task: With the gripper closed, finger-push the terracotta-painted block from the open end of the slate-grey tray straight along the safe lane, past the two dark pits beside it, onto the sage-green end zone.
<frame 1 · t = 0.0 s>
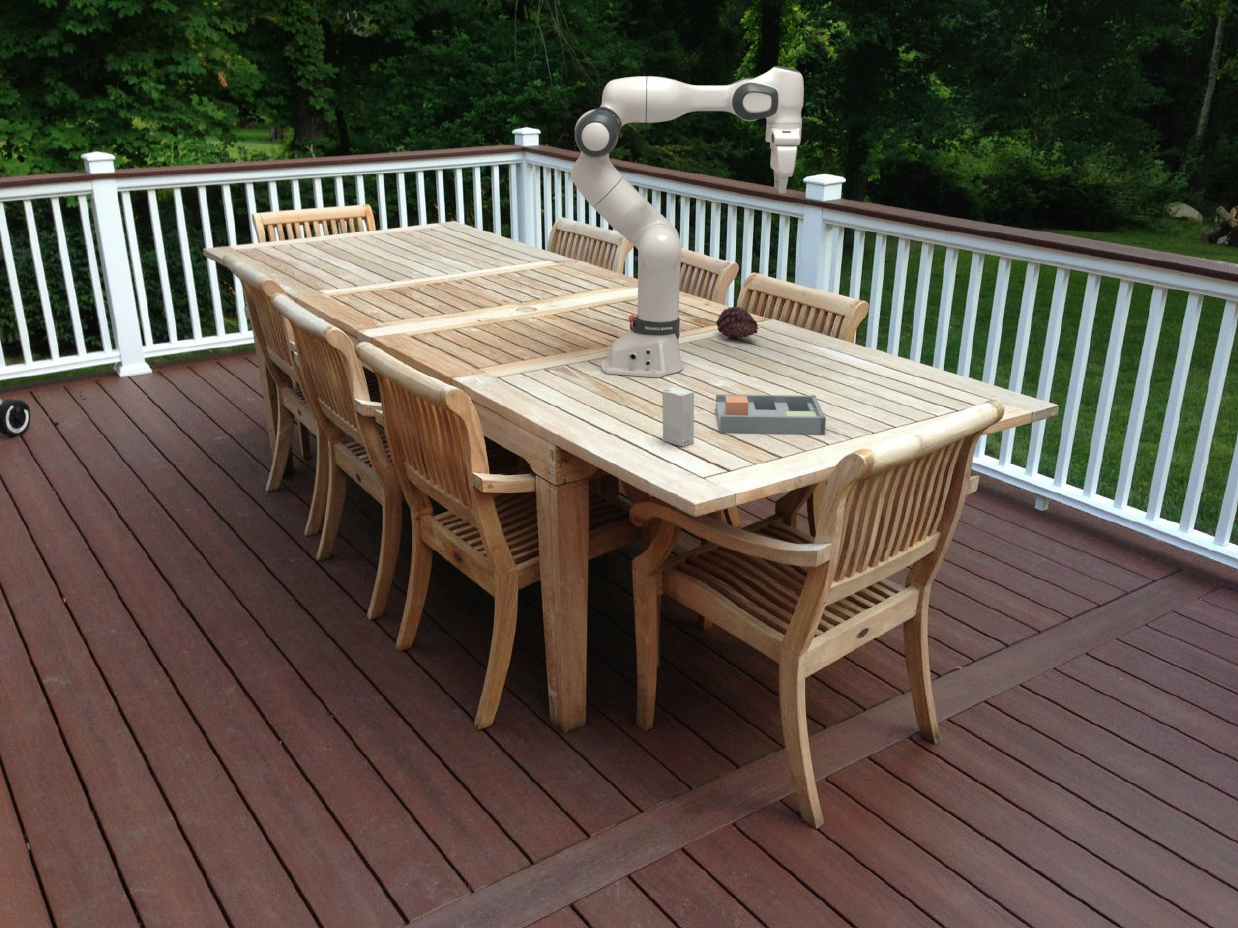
hand: (779, 190, 281), 48 cm above the table, fingers open, 8 cm apart
pine cone: (735, 340, 328), on the table
skincare box: (677, 443, 246), on the table
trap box: (768, 421, 259), on the table
block: (736, 415, 256), point 2 cm above the table, touching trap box
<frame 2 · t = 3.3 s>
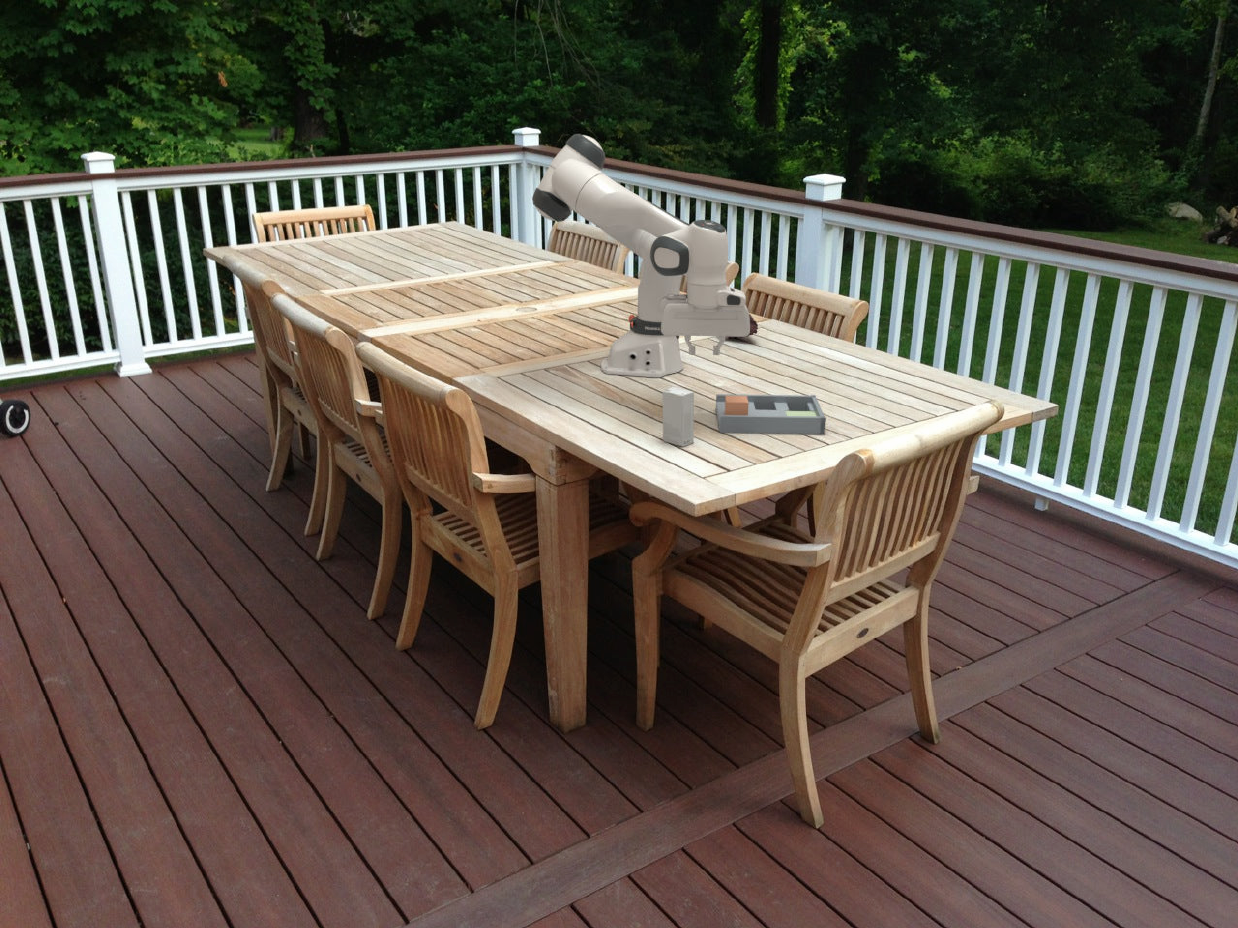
hand: (704, 354, 250), 17 cm above the table, fingers open, 4 cm apart
nothing on the table moved.
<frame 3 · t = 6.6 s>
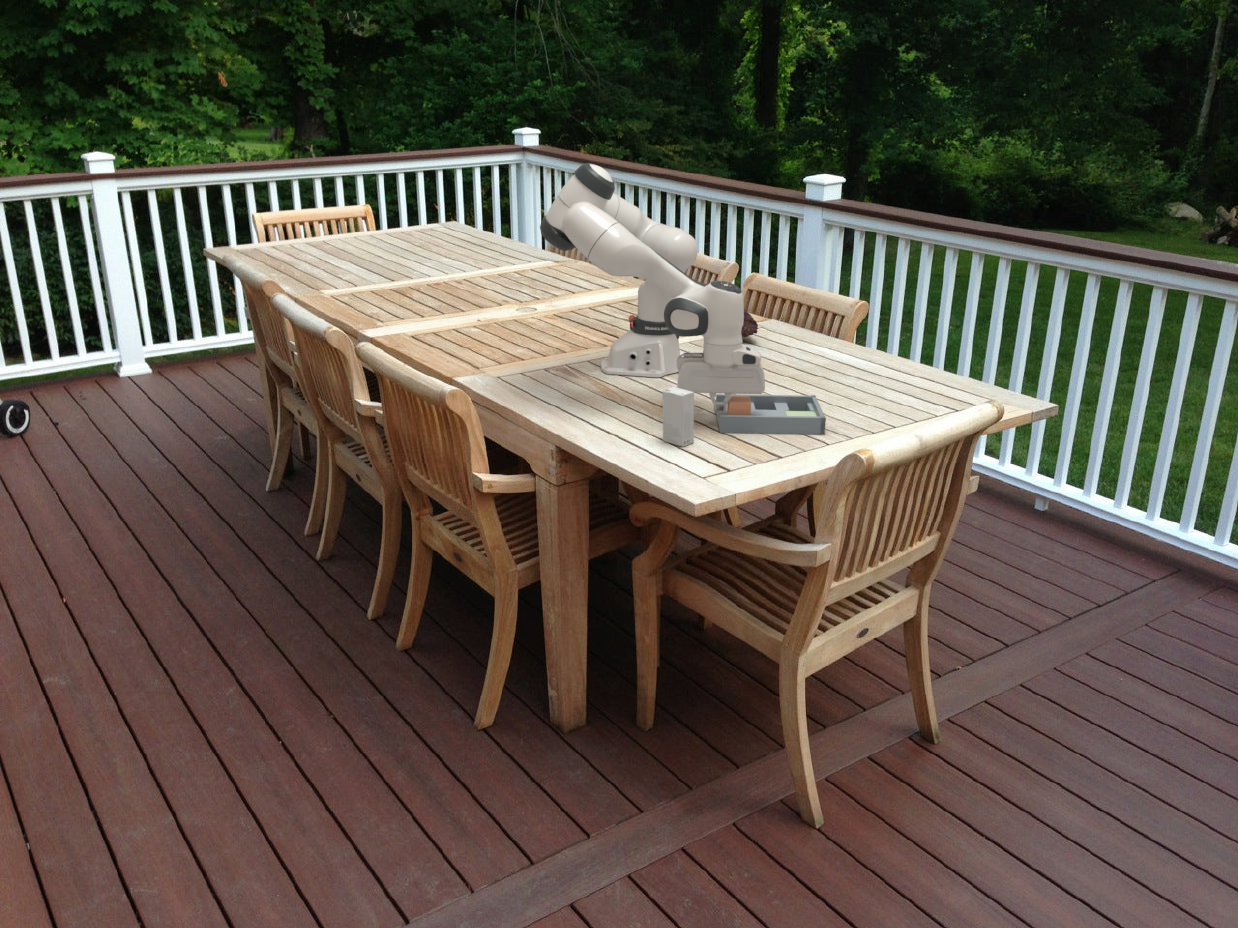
hand: (719, 410, 255), 4 cm above the table, fingers closed
block: (738, 415, 255), point 2 cm above the table, touching gripper, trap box
everything else where it was.
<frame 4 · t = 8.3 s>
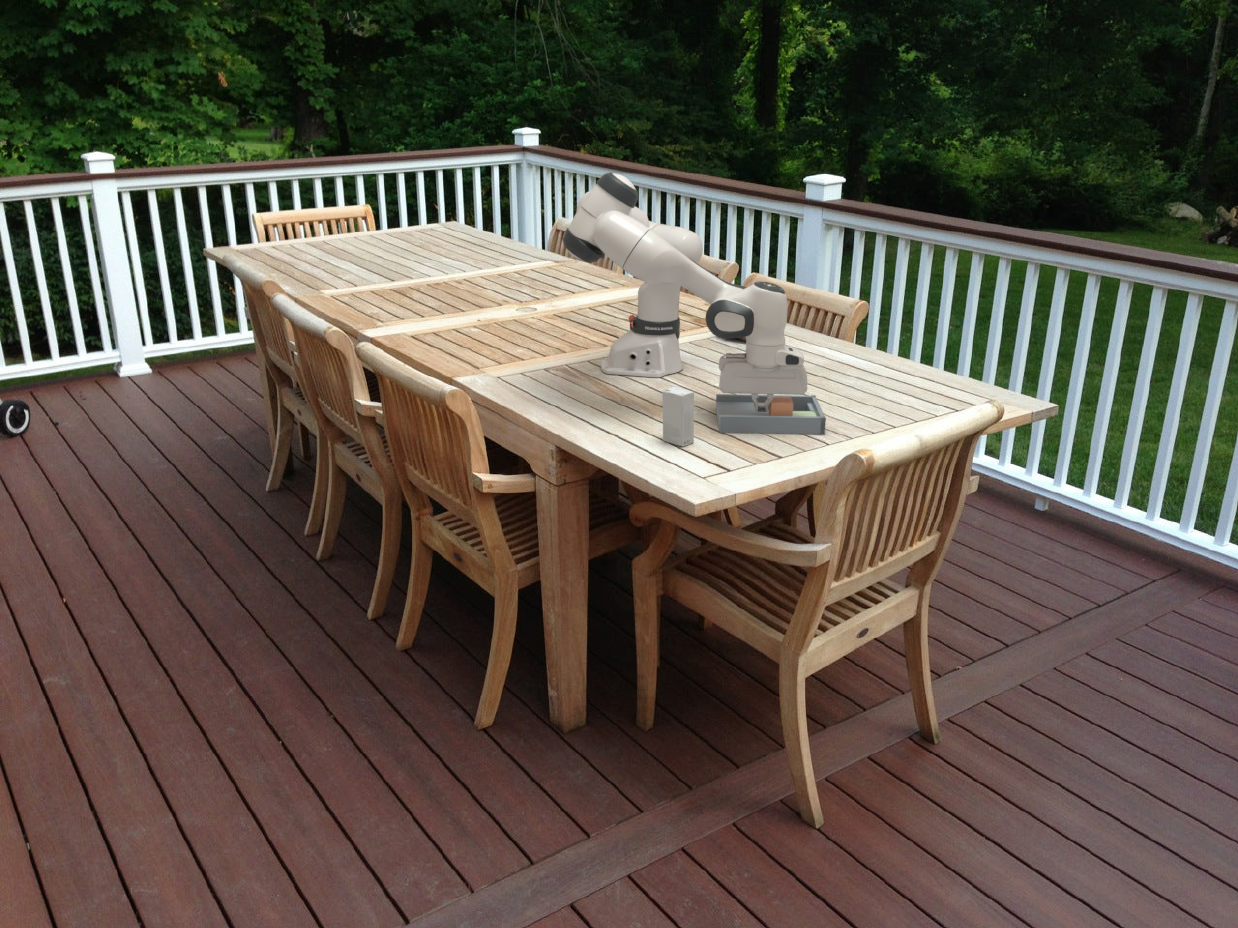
hand: (761, 411, 255), 4 cm above the table, fingers closed
block: (780, 416, 255), point 2 cm above the table, touching gripper, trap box
everything else where it was.
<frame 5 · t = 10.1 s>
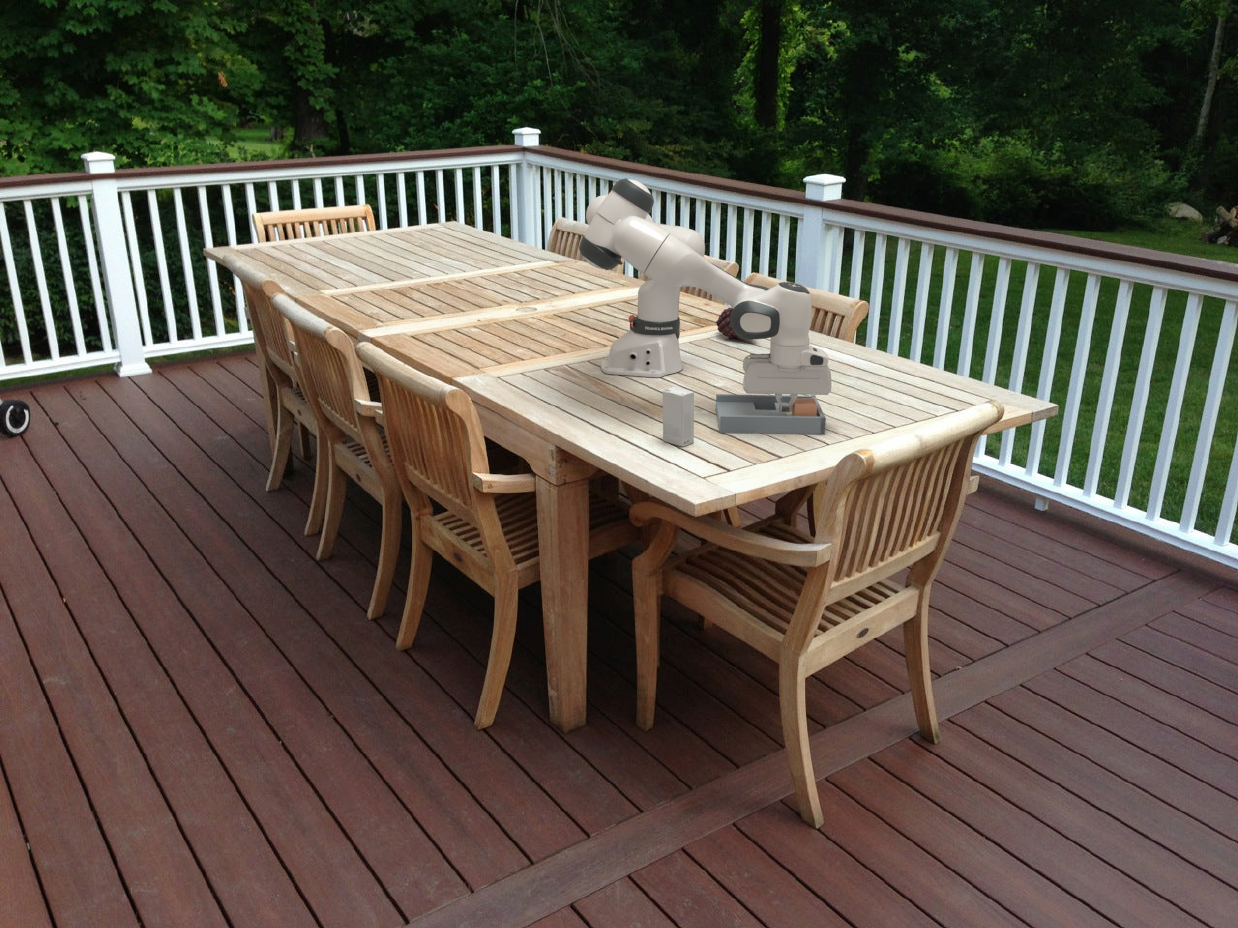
hand: (785, 411, 255), 4 cm above the table, fingers closed
block: (803, 417, 255), point 2 cm above the table, touching gripper, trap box
everything else where it was.
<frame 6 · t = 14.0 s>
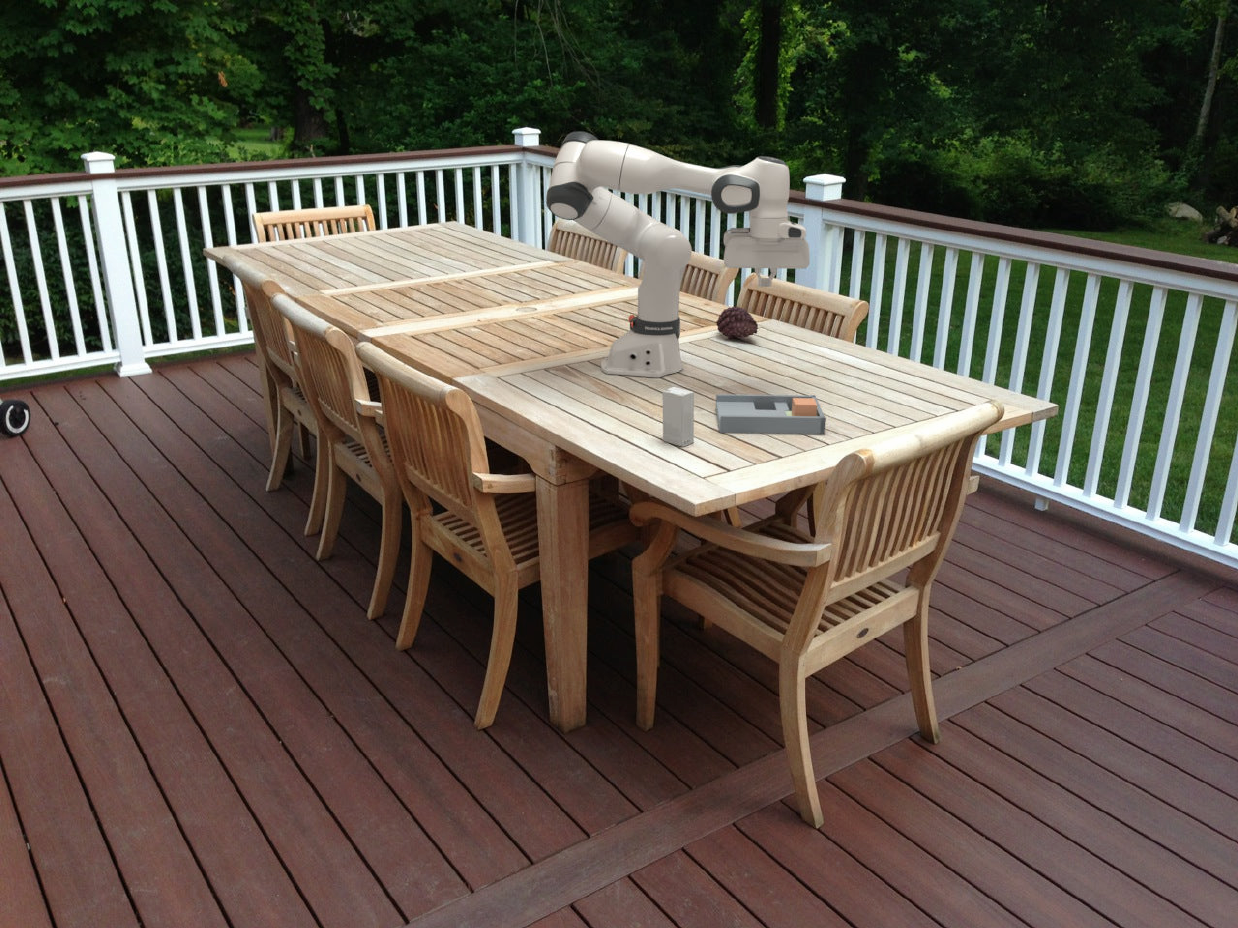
hand: (764, 286, 262), 29 cm above the table, fingers closed
block: (803, 417, 255), point 2 cm above the table, touching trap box
everything else where it was.
at the end: block inside the target area on the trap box (0.5 cm from its centre), point 2.2 cm above the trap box's base; block tilted 0° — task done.
